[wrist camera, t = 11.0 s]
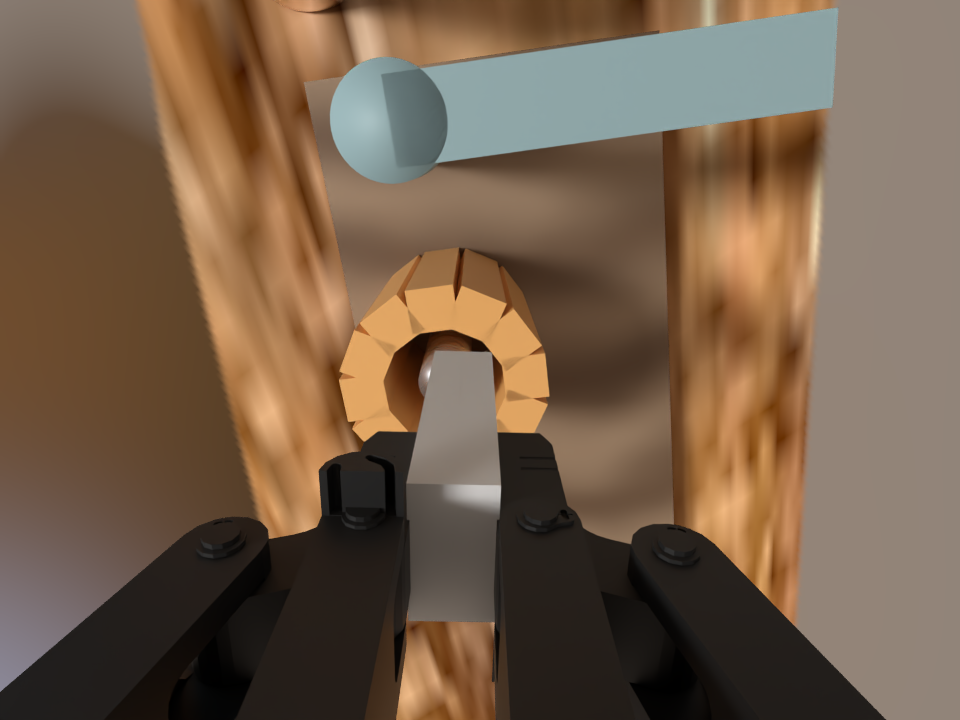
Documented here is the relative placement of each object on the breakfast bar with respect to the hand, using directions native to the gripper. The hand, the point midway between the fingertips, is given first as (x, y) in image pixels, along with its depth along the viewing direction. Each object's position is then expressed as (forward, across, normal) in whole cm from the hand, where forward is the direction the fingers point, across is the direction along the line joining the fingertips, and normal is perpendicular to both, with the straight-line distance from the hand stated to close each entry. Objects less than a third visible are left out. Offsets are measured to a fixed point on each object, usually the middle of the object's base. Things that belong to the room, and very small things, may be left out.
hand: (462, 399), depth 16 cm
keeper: (+5, +3, +8) cm, 10 cm away
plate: (+16, +3, -5) cm, 17 cm away
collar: (+15, -1, -2) cm, 15 cm away
